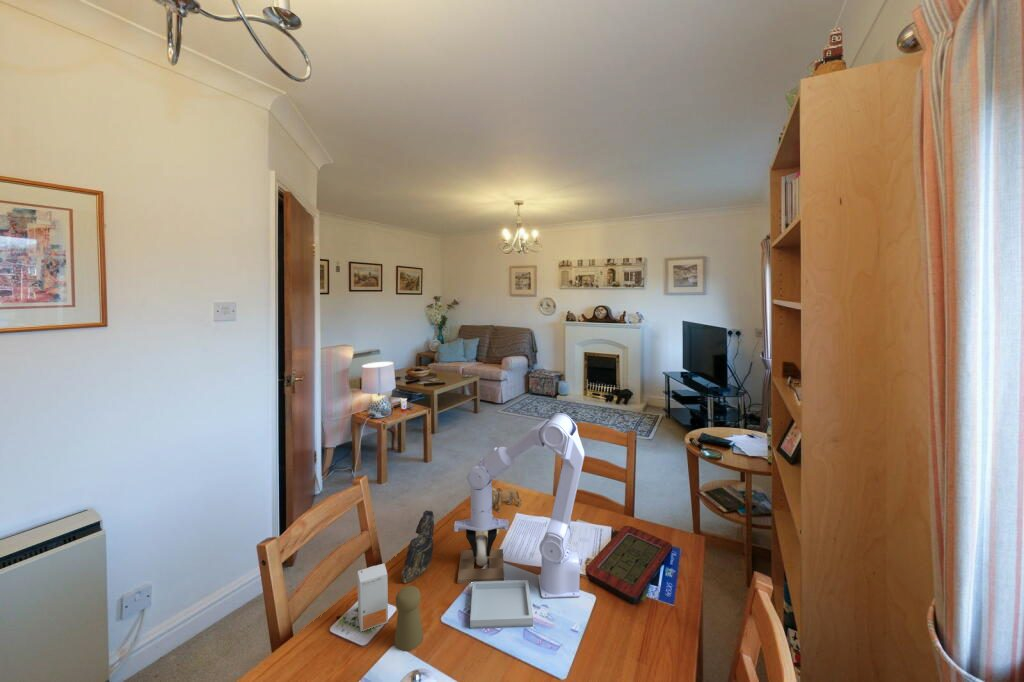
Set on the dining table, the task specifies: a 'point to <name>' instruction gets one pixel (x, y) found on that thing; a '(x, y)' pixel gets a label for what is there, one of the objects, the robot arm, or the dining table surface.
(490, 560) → the brown square board
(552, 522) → the robot arm
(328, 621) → the dining table surface
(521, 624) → the grey tray
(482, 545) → the dowel
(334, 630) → the dining table surface
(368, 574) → the skincare box
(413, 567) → the statue
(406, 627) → the olive game pawn
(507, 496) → the lion figurine
